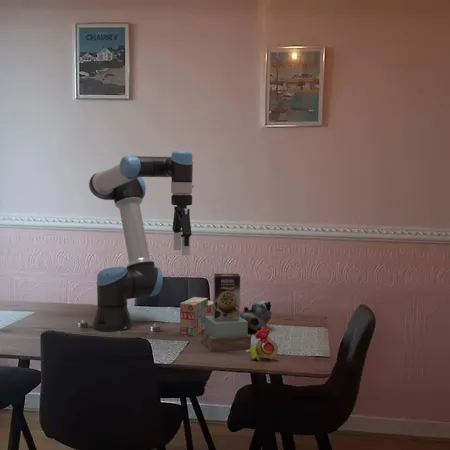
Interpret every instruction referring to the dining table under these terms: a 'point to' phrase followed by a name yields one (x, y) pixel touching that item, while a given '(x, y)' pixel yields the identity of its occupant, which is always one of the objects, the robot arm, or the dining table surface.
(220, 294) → the coffee box
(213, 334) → the grey-green block
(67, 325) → the dining table surface
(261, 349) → the bird rattle
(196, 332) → the stack of blocks
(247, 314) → the lucky cat figurine
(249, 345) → the walnut slab
